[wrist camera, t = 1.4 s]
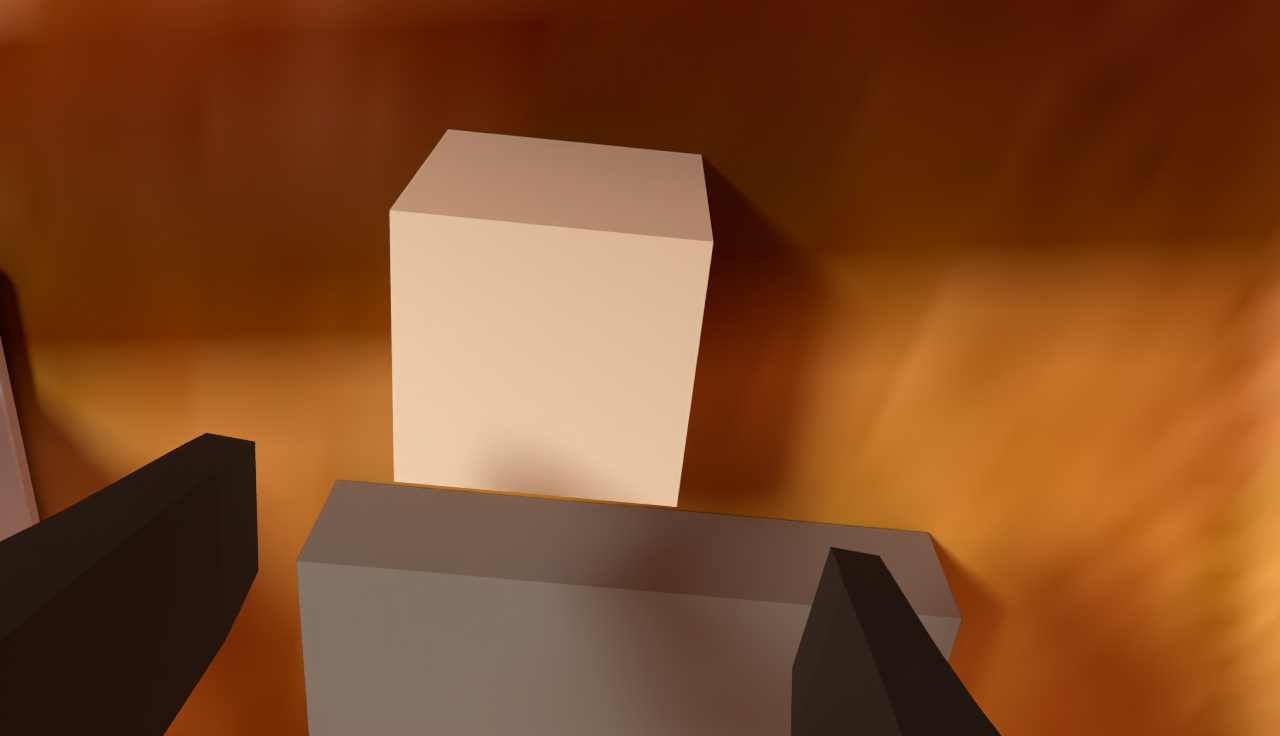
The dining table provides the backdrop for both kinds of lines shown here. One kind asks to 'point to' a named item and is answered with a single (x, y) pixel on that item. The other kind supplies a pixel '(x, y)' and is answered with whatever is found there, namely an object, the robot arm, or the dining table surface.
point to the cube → (547, 317)
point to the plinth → (568, 614)
